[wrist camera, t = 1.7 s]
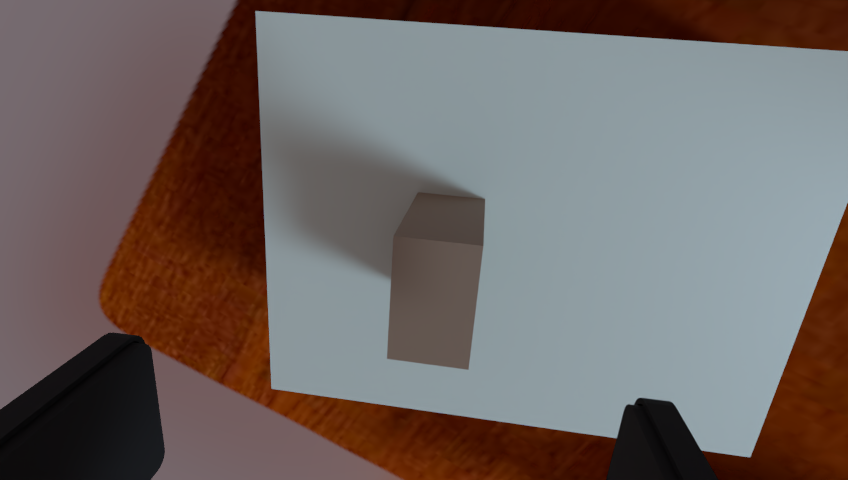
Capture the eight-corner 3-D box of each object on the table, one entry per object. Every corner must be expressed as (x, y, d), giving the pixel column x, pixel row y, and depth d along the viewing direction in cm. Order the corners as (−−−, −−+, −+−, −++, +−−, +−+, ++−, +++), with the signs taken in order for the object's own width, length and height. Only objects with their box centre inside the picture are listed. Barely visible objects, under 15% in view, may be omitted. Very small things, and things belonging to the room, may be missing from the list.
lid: (883, 55, 16) (1090, 51, 10) (740, 443, 21) (827, 574, 16) (265, 13, 18) (165, -10, 12) (278, 378, 23) (213, 475, 18)
